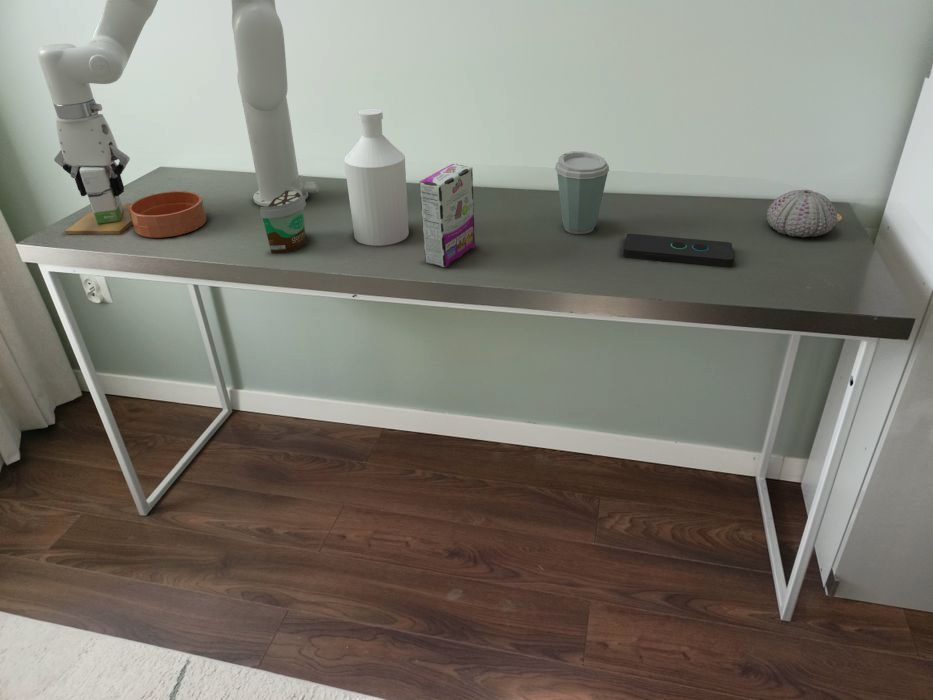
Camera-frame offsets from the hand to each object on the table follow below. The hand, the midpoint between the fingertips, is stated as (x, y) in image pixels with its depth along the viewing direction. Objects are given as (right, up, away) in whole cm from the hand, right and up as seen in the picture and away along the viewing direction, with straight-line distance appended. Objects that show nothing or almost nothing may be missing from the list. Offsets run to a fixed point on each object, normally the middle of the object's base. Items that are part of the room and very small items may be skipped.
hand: (102, 193), depth 152 cm
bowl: (+15, -7, 0) cm, 16 cm away
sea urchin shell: (+148, -9, -8) cm, 148 cm away
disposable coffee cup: (+103, -9, -6) cm, 103 cm away
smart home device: (+120, -16, -17) cm, 122 cm away
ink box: (0, -5, +3) cm, 6 cm away
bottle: (+62, -10, -6) cm, 63 cm away
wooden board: (0, -5, +3) cm, 6 cm away
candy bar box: (+76, -16, -16) cm, 79 cm away
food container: (+44, -13, -10) cm, 47 cm away
